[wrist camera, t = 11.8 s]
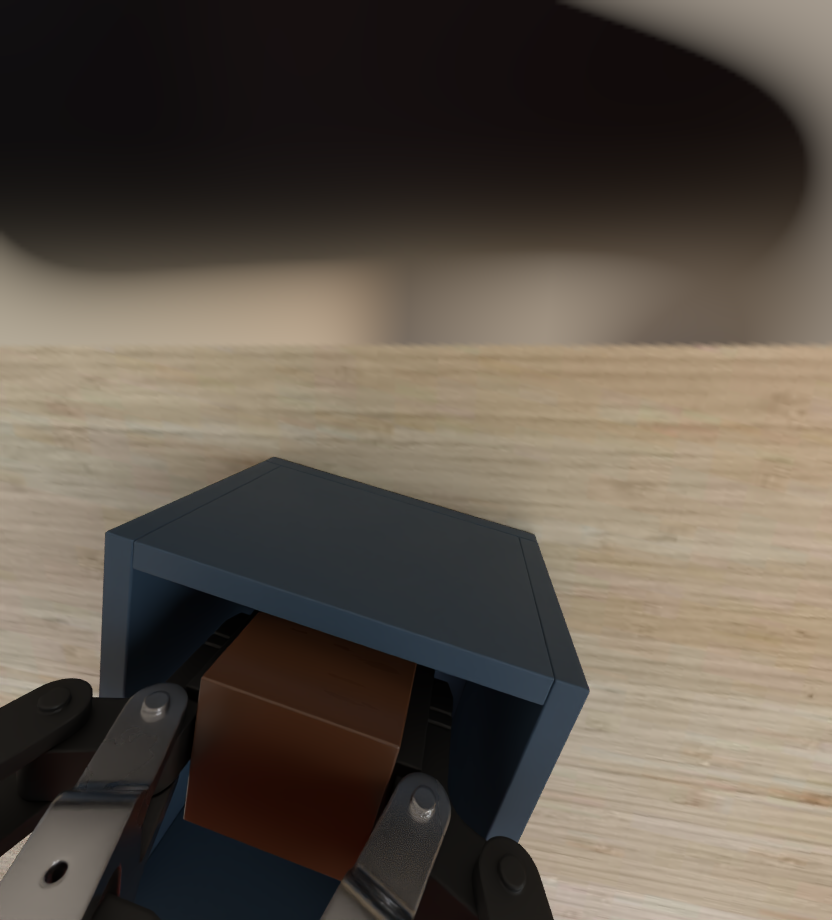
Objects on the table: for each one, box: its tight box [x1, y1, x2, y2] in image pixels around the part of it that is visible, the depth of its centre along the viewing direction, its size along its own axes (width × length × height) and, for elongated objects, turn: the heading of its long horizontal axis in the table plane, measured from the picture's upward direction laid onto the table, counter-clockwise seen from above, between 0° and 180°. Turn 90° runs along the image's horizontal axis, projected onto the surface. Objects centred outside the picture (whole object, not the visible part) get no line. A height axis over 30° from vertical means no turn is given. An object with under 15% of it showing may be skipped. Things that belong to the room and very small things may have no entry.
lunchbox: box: [99, 457, 589, 920], centre depth 15 cm, size 16×12×8 cm
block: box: [183, 611, 417, 881], centre depth 11 cm, size 4×4×4 cm
